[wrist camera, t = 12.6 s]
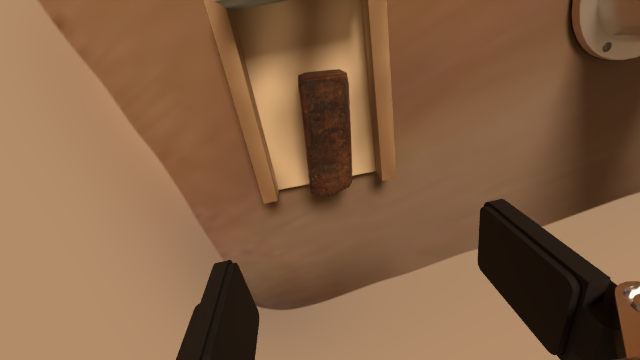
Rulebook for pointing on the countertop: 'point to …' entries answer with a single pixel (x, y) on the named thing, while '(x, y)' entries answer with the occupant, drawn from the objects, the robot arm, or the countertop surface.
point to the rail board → (297, 58)
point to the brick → (327, 129)
